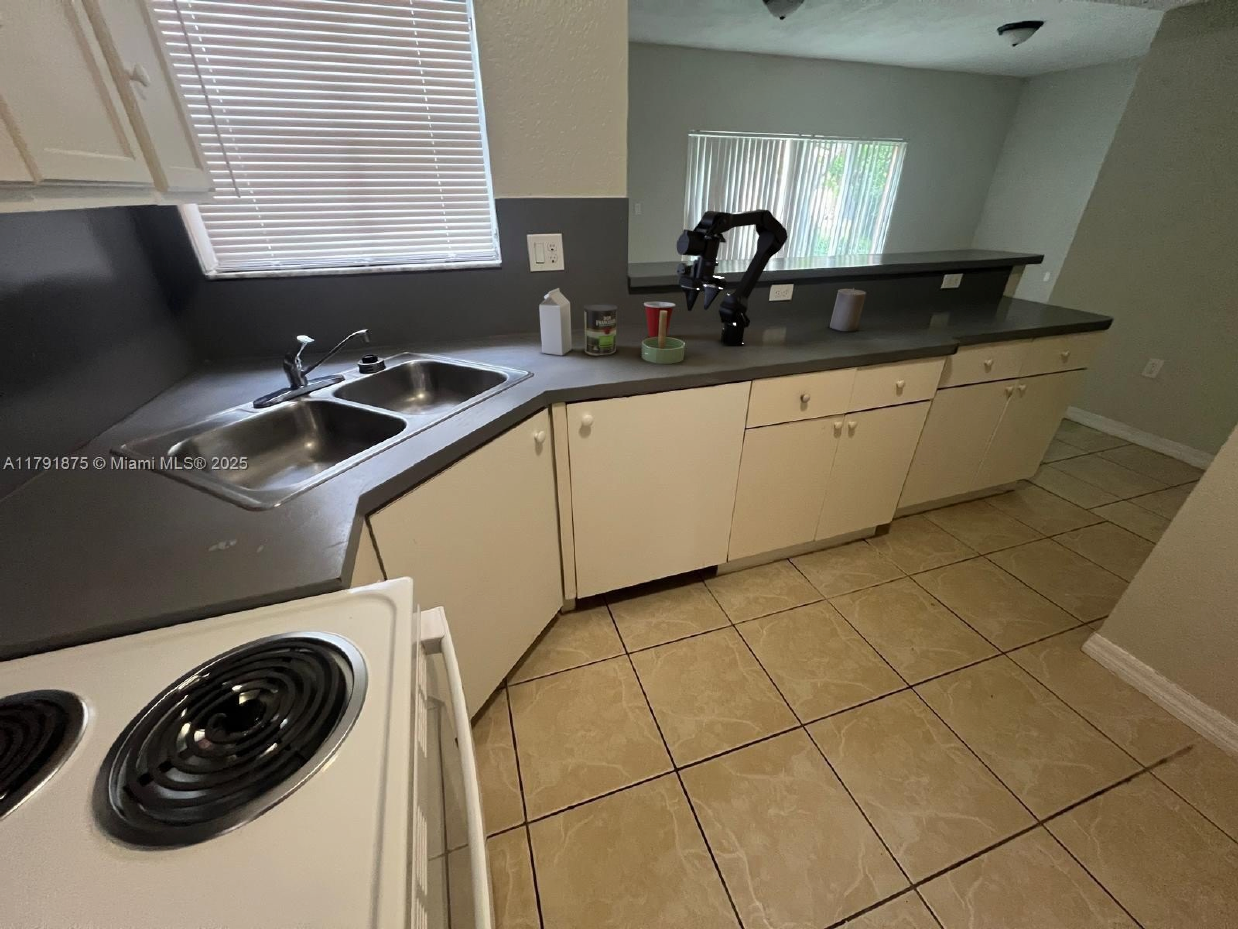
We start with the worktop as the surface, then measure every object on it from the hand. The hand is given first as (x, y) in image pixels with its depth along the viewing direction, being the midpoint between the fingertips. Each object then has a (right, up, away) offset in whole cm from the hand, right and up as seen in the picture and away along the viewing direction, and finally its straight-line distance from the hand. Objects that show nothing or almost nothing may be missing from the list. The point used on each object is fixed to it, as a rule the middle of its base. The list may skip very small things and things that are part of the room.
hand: (697, 310), depth 154 cm
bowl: (-11, -16, -2) cm, 20 cm away
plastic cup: (-11, -4, +18) cm, 21 cm away
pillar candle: (+61, +3, +33) cm, 70 cm away
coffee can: (-31, -13, +3) cm, 34 cm away
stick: (-12, -16, -3) cm, 20 cm away
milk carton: (-45, -13, +2) cm, 47 cm away
